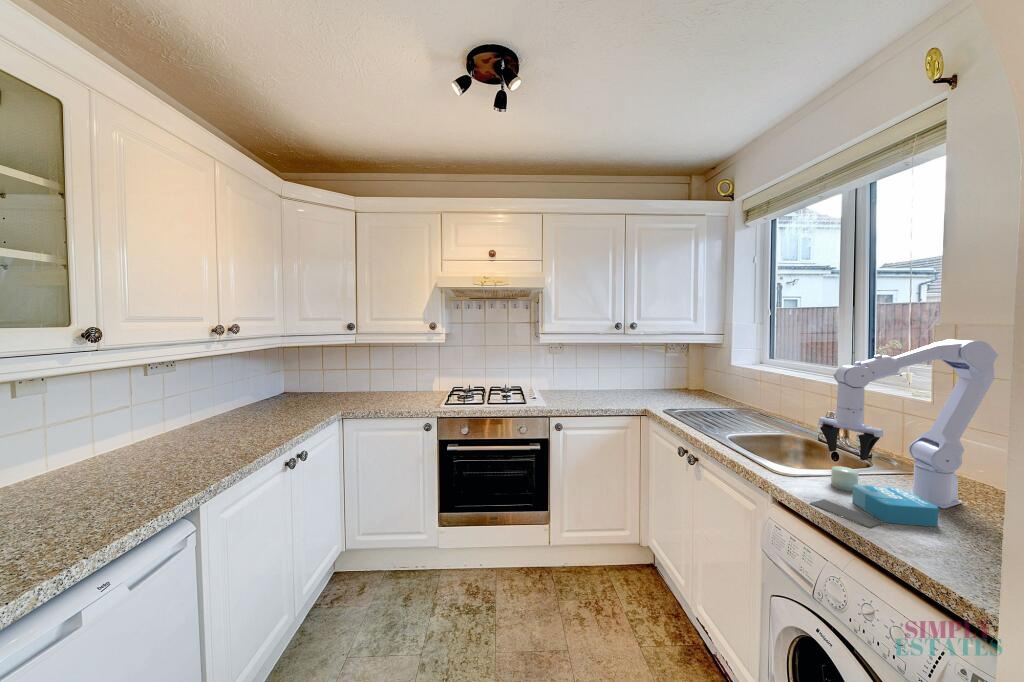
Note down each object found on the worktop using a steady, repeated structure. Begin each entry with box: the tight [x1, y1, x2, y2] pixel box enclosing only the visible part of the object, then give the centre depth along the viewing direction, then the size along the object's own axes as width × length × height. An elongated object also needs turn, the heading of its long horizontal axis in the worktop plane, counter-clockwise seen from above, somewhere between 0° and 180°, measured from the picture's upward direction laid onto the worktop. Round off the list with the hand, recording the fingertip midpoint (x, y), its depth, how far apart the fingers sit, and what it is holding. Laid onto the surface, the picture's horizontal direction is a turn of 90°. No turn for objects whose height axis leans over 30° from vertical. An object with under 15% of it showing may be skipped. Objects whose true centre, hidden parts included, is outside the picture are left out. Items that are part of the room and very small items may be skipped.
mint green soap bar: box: [830, 465, 860, 492], centre depth 114 cm, size 6×6×5 cm
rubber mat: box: [809, 498, 885, 529], centre depth 98 cm, size 6×13×1 cm, turn 22°
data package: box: [851, 484, 940, 528], centre depth 98 cm, size 12×4×12 cm
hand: (847, 455), depth 111 cm, fingers open, 7 cm apart
